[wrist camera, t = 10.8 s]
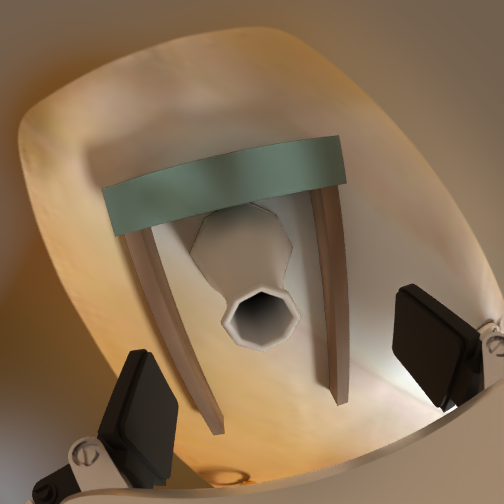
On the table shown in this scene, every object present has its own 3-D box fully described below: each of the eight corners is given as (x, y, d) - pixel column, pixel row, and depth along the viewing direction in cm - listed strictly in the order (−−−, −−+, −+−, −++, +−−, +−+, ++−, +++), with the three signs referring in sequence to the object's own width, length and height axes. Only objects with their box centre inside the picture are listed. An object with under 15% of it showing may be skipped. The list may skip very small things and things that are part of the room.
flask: (244, 309, 22) (263, 401, 13) (173, 254, 20) (141, 327, 11) (307, 245, 21) (371, 306, 12) (238, 180, 19) (259, 195, 10)
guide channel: (316, 139, 19) (338, 135, 15) (339, 386, 27) (353, 411, 23) (123, 183, 18) (101, 189, 14) (212, 418, 26) (213, 446, 22)
